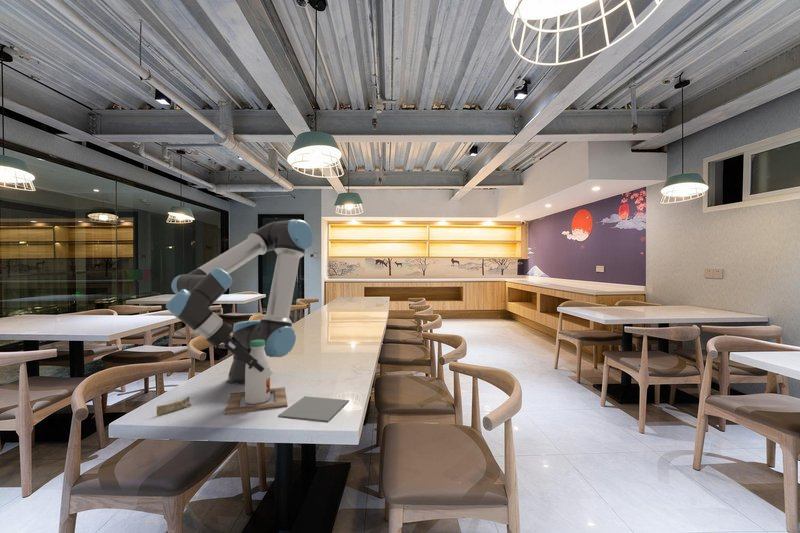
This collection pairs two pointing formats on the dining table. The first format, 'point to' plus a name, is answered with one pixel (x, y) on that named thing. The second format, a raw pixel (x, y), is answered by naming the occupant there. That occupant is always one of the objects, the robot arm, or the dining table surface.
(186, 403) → the snack bar
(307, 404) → the rubber mat
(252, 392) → the milk bottle
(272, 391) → the wooden frame
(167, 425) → the dining table surface
